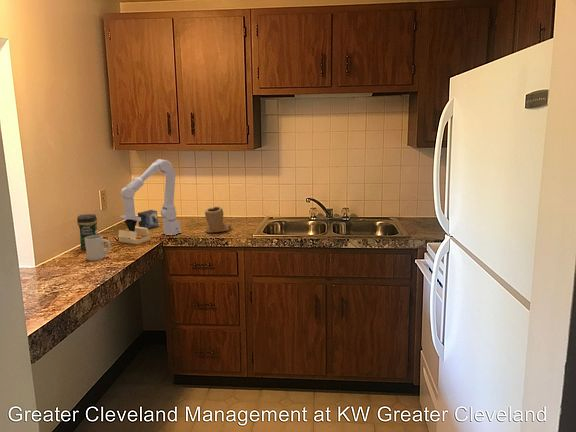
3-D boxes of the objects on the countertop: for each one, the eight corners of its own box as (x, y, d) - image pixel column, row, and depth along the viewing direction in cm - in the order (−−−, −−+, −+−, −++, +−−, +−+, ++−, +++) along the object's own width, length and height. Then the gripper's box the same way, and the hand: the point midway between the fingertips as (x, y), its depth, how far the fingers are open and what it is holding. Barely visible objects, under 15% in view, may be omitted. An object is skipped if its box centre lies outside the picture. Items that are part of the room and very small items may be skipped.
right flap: (148, 234, 258) (150, 233, 259) (146, 229, 256) (147, 227, 257) (132, 232, 264) (134, 231, 265) (130, 227, 262) (131, 225, 263)
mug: (84, 261, 226) (81, 239, 223) (91, 255, 234) (88, 235, 231) (109, 259, 226) (106, 238, 223) (114, 254, 234) (112, 234, 232)
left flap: (137, 232, 250) (135, 231, 249) (135, 239, 250) (134, 239, 249) (121, 229, 257) (119, 229, 255) (119, 236, 256) (118, 236, 255)
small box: (145, 230, 280) (143, 214, 278) (138, 229, 284) (136, 212, 282) (159, 226, 288) (157, 210, 286) (152, 225, 292) (151, 209, 290)
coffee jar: (79, 250, 244) (74, 216, 240) (84, 246, 252) (79, 213, 247) (97, 249, 245) (92, 215, 240) (102, 245, 252) (97, 212, 248)
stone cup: (204, 235, 264) (202, 210, 260) (206, 230, 275) (204, 205, 272) (231, 233, 265) (229, 208, 262) (231, 228, 277) (229, 204, 273)
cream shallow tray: (150, 239, 258) (149, 235, 258) (136, 244, 250) (136, 240, 249) (133, 237, 265) (132, 233, 265) (119, 242, 257) (118, 237, 256)
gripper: (114, 209, 253) (117, 233, 256) (132, 211, 246) (135, 235, 249) (124, 206, 259) (127, 230, 262) (142, 208, 251) (145, 232, 255)
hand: (132, 232), depth 256 cm, fingers closed
